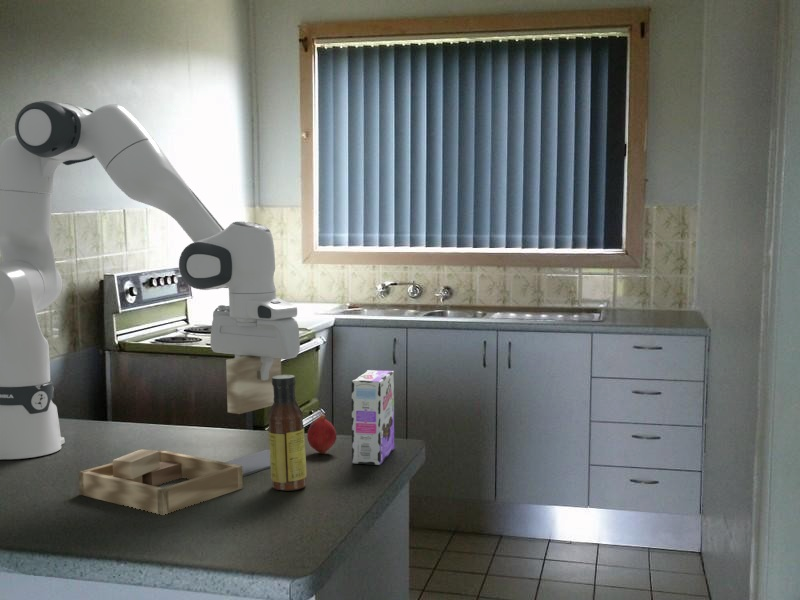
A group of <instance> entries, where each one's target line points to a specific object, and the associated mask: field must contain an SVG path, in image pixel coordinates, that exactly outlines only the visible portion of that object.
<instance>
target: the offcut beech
mask: <svg viewBox="0 0 800 600" xmlns="http://www.w3.org/2000/svg"><path fill="white" fill-rule="evenodd" d="M111 463H113V477H117V478H126V479H134V478H136V477H138V476H141V475H143V474H146V473H148V472H150V471H153V470H155V469H158V468H160V451H158V450H154V449H142V448H141V449H138V450H136V451H133V452H130V453H128V454H124V455H122V456H120V457H117V458H114V459H112V462H111Z"/></svg>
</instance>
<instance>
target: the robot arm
mask: <svg viewBox="0 0 800 600" xmlns="http://www.w3.org/2000/svg"><path fill="white" fill-rule="evenodd" d="M14 122H15V123H14V132H15V133H14V134H15V135H11V136H9V137H7V138H6V139H4V140H3V141H2V143H1V144H0V257H1V261H0V460H21V459H29V458H37V457H42V456H47V455H50V454H54V453H56V452H58V451H59V450H61V449H62V445H63V444H65V443H66V440H65V437H63V436H61V427H60V420H59V415H58V407H57V405H56V403H54V402H53V399H54V392H55V391H54V386H53V384H54V383H53V380H52V379H51V367H50V366H51V363H50V361H51V360H50V345H49V341H48V339H47V338H45V335H44V334H43V332H42V329H41V327H40V323H39V319H38V313H37V312H39V311H43V310H45V309H46V308H48V307H49V306H51V305H52V304H53V303H54V302H55V301H56V300H58V298H59V297H60V295H61V293H62V291H63V278H62V275H61V272H60V271H59V269H58V268H57V265H56V260H55V255H54V247H53V243H52V232H51V231H52V230H51V229H52V228H51V226H52V225H51V224H52V210H53V209H52V208H53V207H52V206H53V185H54V175H55V171H56V169H58V167H59V166H60V164H63V165H65V166H70V165H74V164H78V163H83V162H87V161H90V160H93V159H97V161H98V162H99V163H100V165H101V167H102V168H103V169H104V171H105V172H106V173H107V175H108V176H109V177H110V180H112V182H113V183H114V184H115V185H116V187H118V189H120V191H121V192H123V194H125V195H126V196H127V197H128V198H129V199H131V200H133V201H136V202H138V203H142V204H145V205H148V206H150V207H153V208H155V209H158V210H160V211H162V212H164V213H166V214H167V215H169V216H170V217H171V218H173V219H174V220H175V221H176V222H177V224H178V225H179V226H180V228H182V229H183V231H184V232H185V234H187V236H188V237H189V238H190V240H191V241H192V243H189V244H188V245H186V246H185V247H184V248H183V250H182V252H181V253H180V256H179V258H178V259H179V260H178V269H179V270H178V271H179V273H180V276H181V278H182V279H183V281H184V282H185V283H186V284H187V285H188V286H189V287H190V288H193V289H196V290H200V291H201V290H202V291H208V290H219V289H228V299H229V301H228V302H229V303H228V304H229V305H222V304H221V305H218V306H217V307H216V308H215V309H214V310H213V314H212V322H211V328H210V343H209V344H210V349H211V350H212V352H213V353H219V354H227V355H228V354H230V355H234V358H238V357H243V356H257V357H261V363H263V365H262V367H261V370H259V371H257V375H258V376H257V379H258V380H268V379H269V370H270V368H271V366H272V364H273V362H274V360H273V358H277V359H281V360H289V359H295V358H297V356H298V355H299V353H300V350H301V348H300V347H301V342H300V340H301V339H300V329H299V324H298V322H297V320H296V319H295V318H296V317H297V316H298V308H297V306H296V305H295V304H292V303H290V302H289V301H286V300H284V299H282V298H280V297H278V296H277V292H276V291H277V289H276V286H275V282H274V274H275V273H276V272H275V271H276V258H275V257H276V256H275V245H274V239H273V235H272V231H271V230H270V229H269V228H268V227H267V226H266V225H263V224H260V223H256V222H251V221H250V222H249V221H248V222H245V221H234V222H231V223H230V224H229V225H228V226H227V227H226V228H224V227H223V226H222V225H221V224H220V223H219V222H218V221H217V220H218V219H217V218H215V217H214V215H213V214H212V213H211V212H210V211H209V209H208V208H207V207H206V205H205V204H204V203H203V202H202V200H201V199H200V198H199V197H198V196H197V195H196V194H195V192H193V190H192V189H191V188H190V187H189V185H187V183H186V181H185V180H184V179H183V177H181V175H180V174H179V173H178V171H177V170H176V169H175V168H174V166H173V164H172V163H171V162H170V160H169V159H168V157H167V156H166V155H165V153H164V152H163V150H162V149H161V147H159V145H158V144H157V142H156V141H155V140H154V138H153V137H152V135H151V134H150V132H148V131H147V129H146V128H145V127H144V125H142V124H141V122H140V121H139V120H138V119H137V118H136V117H135V116H134V115H133V114H132V113H131V112H130V111H128V110H127V109H126V108H125V107H123V106H122V105H118V104H113V103H112V104H105V105H102V106H99V107H98V108H96V109H95V110H91V109H88V108H86V107H85V108H83V107H81V106H78V105H76V104H71V103H69V102H67V103H66V102H65V103H64V102H62V103H60V102H53V101H51V100H50V101H49V100H39V101H35V102H31V103H28V104H27V105H25V106H23V108H22V109H21V110H19V112H18V114H17V117H16V118H15V121H14Z"/></svg>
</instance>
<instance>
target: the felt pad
mask: <svg viewBox="0 0 800 600" xmlns="http://www.w3.org/2000/svg"><path fill="white" fill-rule="evenodd" d="M224 462H225V463H230V464H236V465H241V466H242V467H243V477H246V476H249V475H252V474H254V473H257V472H260V471H261V472H262V471H264V470H268V469H271V465H270V448H269V449H268V448H267V449H263V450H261V451H258V452H253V453H251V454H248V455H244V456H241V457H237V458H234V459H231V460H228V461H224Z"/></svg>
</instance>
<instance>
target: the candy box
mask: <svg viewBox="0 0 800 600" xmlns="http://www.w3.org/2000/svg"><path fill="white" fill-rule="evenodd" d="M394 374H395V372H394V370H376V369H375V370H373V369H367V370H366V371H365V372H364V373H362V374H361V375H359V376H357V378H355V379H353V380H351V464H358V465H371V466H372V465H375V466H380V465H381V464H383V462H384V461H385V460H386V459H387V458H388V457H389V455H390V454H391V453H392V452H393V450H394V449H395V378H394V377H395V375H394Z"/></svg>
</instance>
